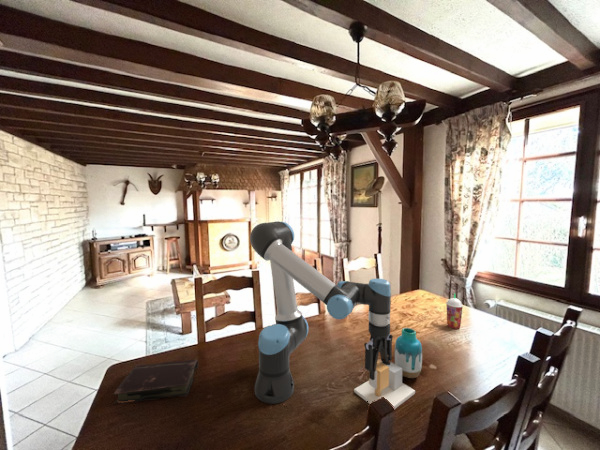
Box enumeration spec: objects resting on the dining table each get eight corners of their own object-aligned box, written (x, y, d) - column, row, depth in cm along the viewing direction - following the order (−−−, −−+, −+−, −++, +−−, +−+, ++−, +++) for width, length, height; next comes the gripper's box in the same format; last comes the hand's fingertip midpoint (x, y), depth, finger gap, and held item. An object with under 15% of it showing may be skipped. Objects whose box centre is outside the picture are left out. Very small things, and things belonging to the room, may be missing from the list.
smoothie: (462, 325, 153) (463, 292, 152) (461, 331, 146) (463, 297, 145) (445, 322, 158) (447, 290, 156) (445, 327, 151) (446, 294, 149)
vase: (419, 386, 101) (421, 339, 100) (391, 377, 107) (392, 332, 106) (423, 372, 110) (424, 328, 109) (397, 364, 116) (398, 322, 115)
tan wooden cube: (380, 391, 92) (380, 372, 91) (368, 383, 96) (369, 365, 95) (388, 385, 94) (389, 367, 94) (377, 378, 99) (377, 360, 98)
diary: (136, 374, 110) (136, 363, 110) (198, 368, 114) (198, 357, 114) (112, 407, 92) (112, 393, 91) (187, 398, 96) (186, 385, 96)
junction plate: (385, 416, 87) (385, 392, 87) (354, 392, 98) (354, 371, 98) (415, 393, 98) (415, 372, 97) (383, 374, 109) (384, 355, 108)
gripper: (371, 333, 85) (370, 400, 87) (403, 319, 96) (401, 379, 97) (354, 325, 92) (353, 387, 93) (385, 312, 102) (384, 369, 104)
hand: (378, 383), depth 95 cm, fingers closed on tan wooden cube, 5 cm apart
